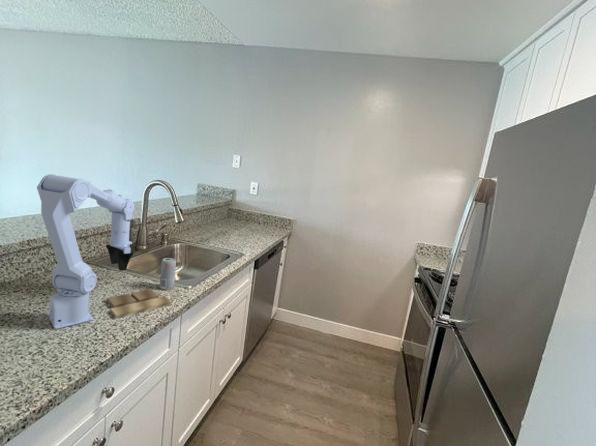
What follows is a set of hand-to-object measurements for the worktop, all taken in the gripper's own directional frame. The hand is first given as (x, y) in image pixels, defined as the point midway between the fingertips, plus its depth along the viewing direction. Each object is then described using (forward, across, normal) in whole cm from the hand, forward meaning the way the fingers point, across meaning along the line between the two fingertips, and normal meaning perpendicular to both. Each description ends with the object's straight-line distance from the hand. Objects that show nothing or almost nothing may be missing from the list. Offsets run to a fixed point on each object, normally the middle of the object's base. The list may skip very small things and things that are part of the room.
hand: (118, 266), depth 110 cm
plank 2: (+10, -8, -6) cm, 15 cm away
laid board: (+10, -16, -2) cm, 19 cm away
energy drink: (+11, -4, -17) cm, 20 cm away
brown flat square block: (+10, -8, +2) cm, 13 cm away
